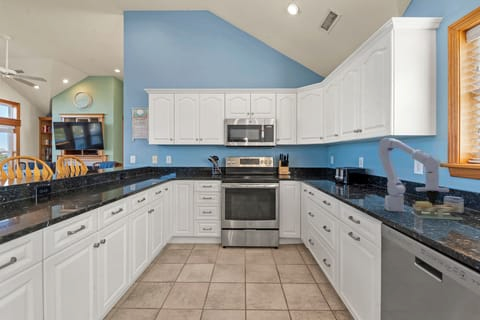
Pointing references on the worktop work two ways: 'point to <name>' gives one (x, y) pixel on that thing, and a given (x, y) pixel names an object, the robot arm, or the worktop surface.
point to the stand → (437, 215)
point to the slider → (423, 204)
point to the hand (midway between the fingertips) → (432, 204)
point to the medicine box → (454, 202)
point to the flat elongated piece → (438, 208)
